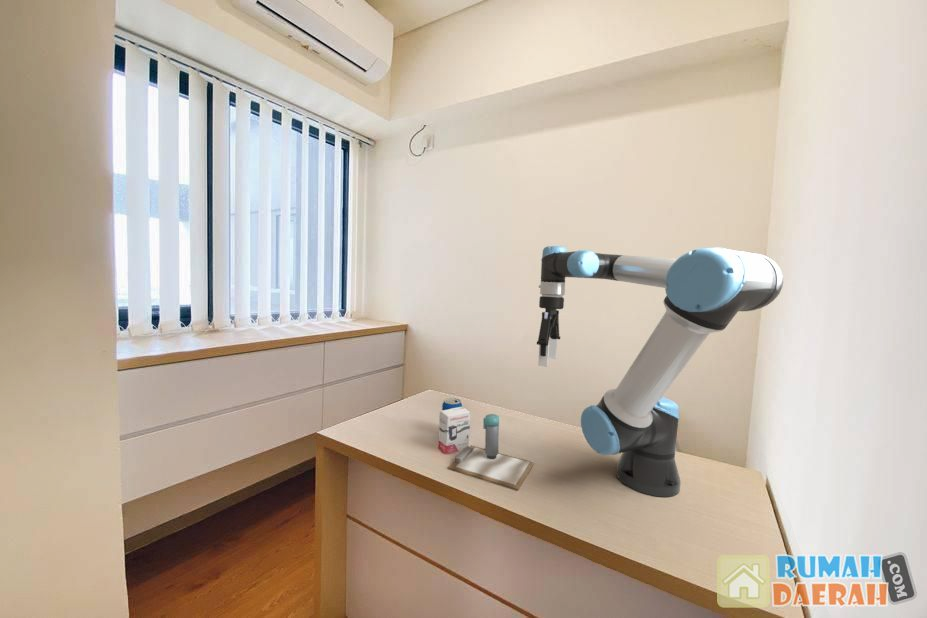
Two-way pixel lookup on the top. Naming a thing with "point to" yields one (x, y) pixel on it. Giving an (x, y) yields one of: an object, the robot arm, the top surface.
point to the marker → (491, 435)
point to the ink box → (454, 429)
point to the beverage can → (451, 403)
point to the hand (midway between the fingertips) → (547, 362)
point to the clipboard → (492, 467)
